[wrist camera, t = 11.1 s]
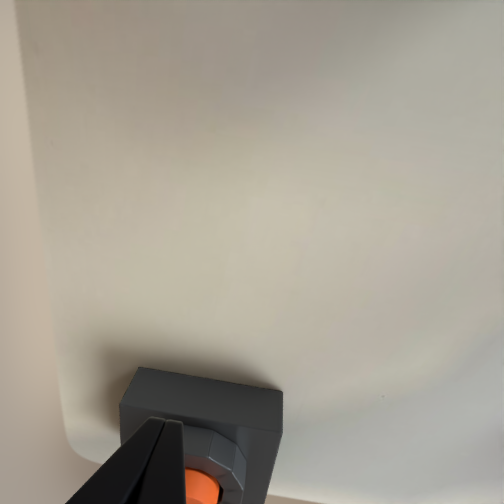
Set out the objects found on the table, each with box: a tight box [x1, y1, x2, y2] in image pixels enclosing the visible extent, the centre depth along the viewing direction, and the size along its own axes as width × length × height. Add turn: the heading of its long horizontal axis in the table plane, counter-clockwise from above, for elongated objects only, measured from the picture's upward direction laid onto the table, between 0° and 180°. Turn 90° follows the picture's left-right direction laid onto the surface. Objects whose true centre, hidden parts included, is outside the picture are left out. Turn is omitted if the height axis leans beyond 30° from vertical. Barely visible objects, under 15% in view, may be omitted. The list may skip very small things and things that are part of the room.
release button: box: [185, 467, 219, 504], centre depth 21 cm, size 4×4×2 cm
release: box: [119, 367, 283, 504], centre depth 23 cm, size 10×8×5 cm
